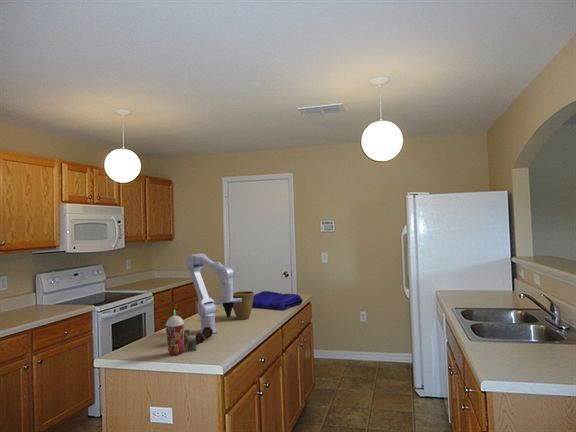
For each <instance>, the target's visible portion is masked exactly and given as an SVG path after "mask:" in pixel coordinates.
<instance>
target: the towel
mask: <svg viewBox="0 0 576 432" xmlns="http://www.w3.org/2000/svg"><path fill="white" fill-rule="evenodd" d="M302 304H303V298H302V297H301V295H300V294H298V293H296V294H295V293H281V292H276V291H275V292H274V291H267V290H263V291H261V292H258V293H257V294H254V297H253V304H252V308H255V309H268V308H269V309H270V310H277V311H287V310H289V309H290V308H292V307H295V306H300V305H302Z"/></svg>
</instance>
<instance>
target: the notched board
mask: <svg viewBox="0 0 576 432" xmlns="http://www.w3.org/2000/svg"><path fill="white" fill-rule="evenodd" d="M184 344H185V345H186V347H187V350H188V351H189V352H194V351H197V344H196V339H195V338H191V336H190V329H184Z"/></svg>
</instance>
